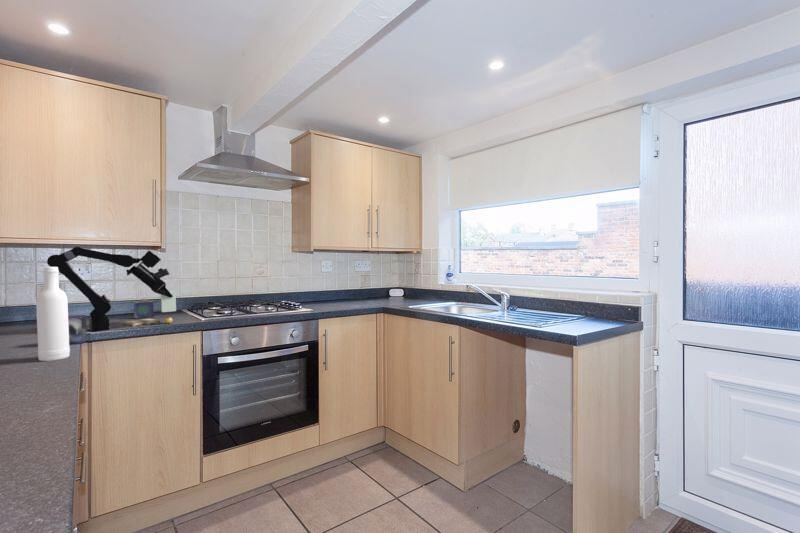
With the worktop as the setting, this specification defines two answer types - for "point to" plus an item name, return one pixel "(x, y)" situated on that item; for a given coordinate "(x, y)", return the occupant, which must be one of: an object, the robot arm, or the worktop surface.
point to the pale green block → (168, 302)
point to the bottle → (52, 319)
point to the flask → (143, 309)
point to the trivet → (141, 322)
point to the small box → (77, 329)
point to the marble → (168, 320)
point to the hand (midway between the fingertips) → (171, 296)
